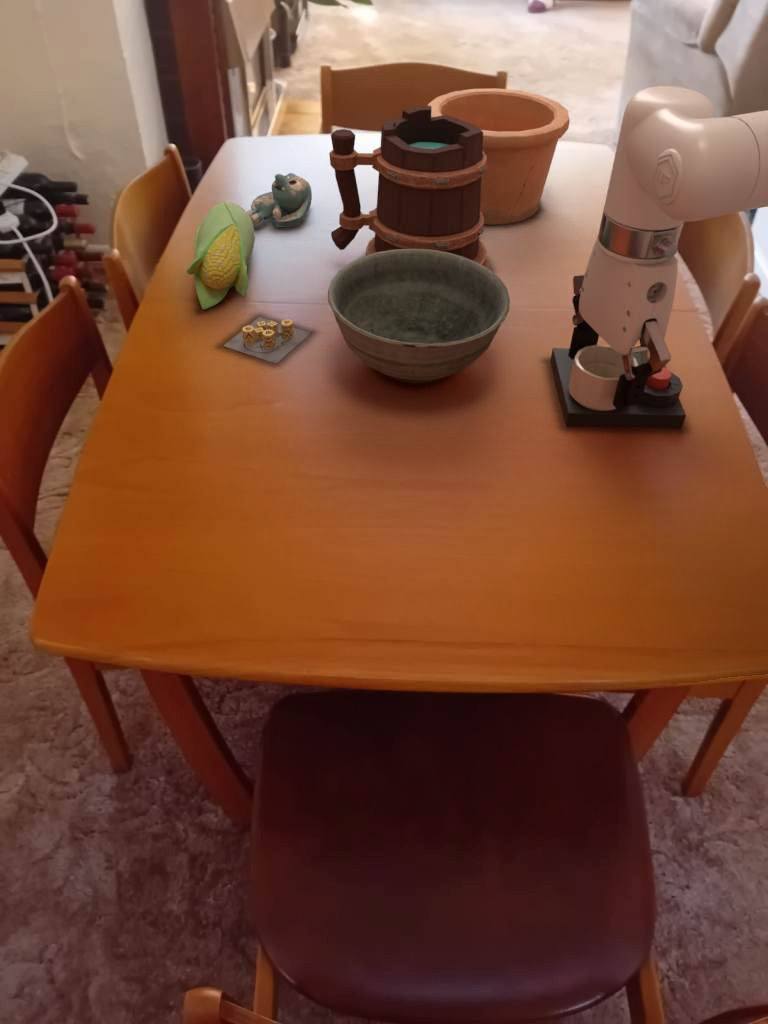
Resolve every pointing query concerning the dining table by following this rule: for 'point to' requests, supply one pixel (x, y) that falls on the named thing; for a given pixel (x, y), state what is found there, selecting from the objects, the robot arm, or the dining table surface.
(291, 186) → the grey-green animal figurine
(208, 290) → the corn
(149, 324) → the dining table surface
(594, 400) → the small bowl
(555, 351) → the black button base
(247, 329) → the set of gold cylinders
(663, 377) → the tare button
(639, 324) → the robot arm
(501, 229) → the dining table surface
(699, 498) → the dining table surface
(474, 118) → the pottery
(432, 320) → the bowl
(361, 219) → the mug
